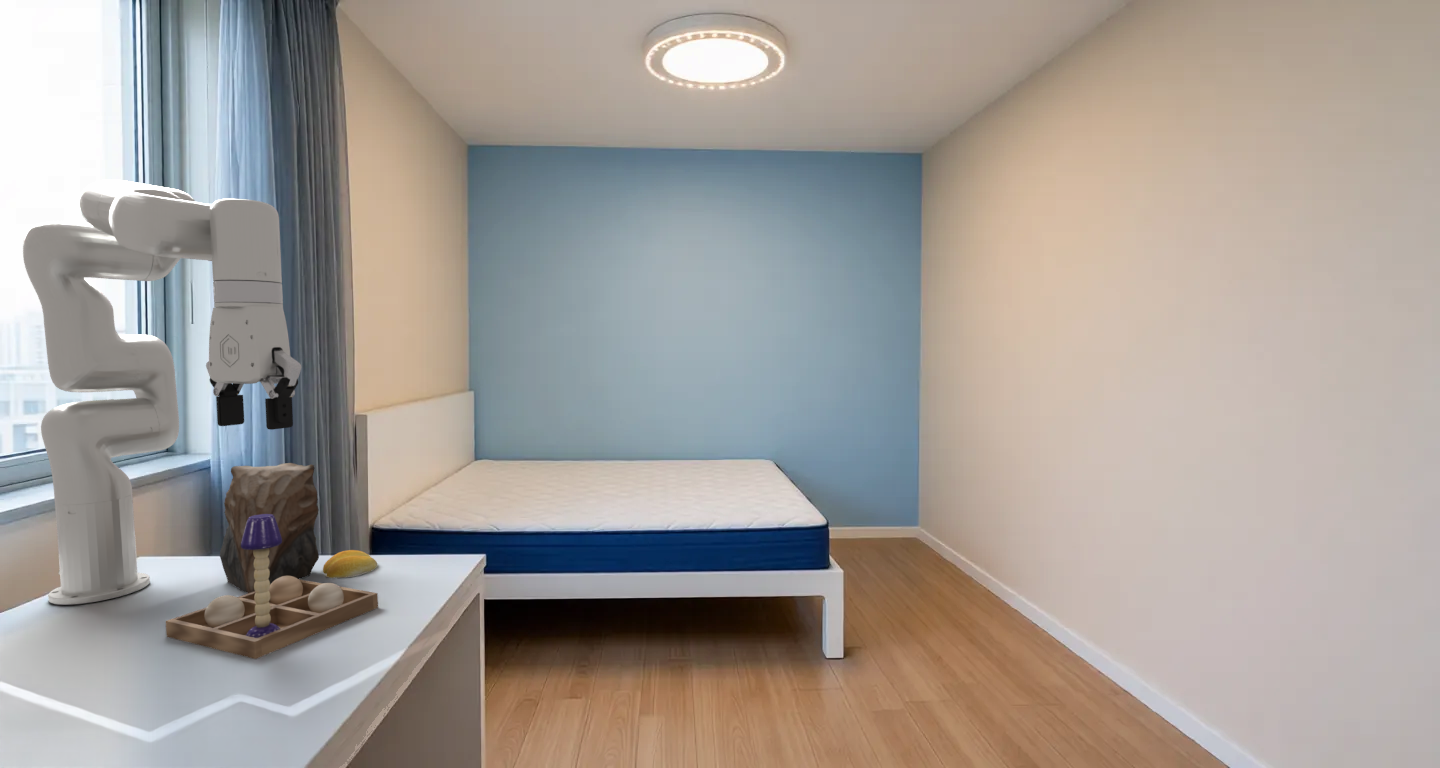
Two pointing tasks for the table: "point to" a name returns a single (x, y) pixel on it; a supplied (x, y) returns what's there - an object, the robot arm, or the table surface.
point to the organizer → (287, 616)
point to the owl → (293, 508)
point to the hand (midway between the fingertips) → (255, 426)
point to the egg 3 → (325, 597)
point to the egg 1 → (224, 610)
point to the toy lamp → (261, 567)
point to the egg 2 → (285, 589)
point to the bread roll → (349, 564)
